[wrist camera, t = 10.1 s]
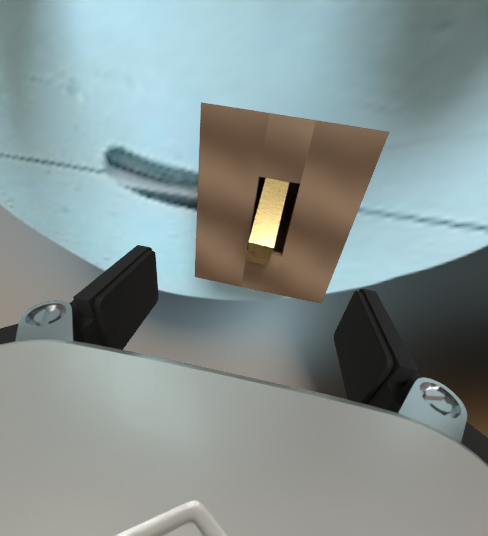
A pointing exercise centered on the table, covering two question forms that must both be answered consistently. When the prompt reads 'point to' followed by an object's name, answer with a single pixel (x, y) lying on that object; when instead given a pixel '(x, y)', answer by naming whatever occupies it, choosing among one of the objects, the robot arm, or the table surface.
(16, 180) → the table surface
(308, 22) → the table surface
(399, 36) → the table surface
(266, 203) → the golden flat plank
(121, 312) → the robot arm
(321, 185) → the coin box
